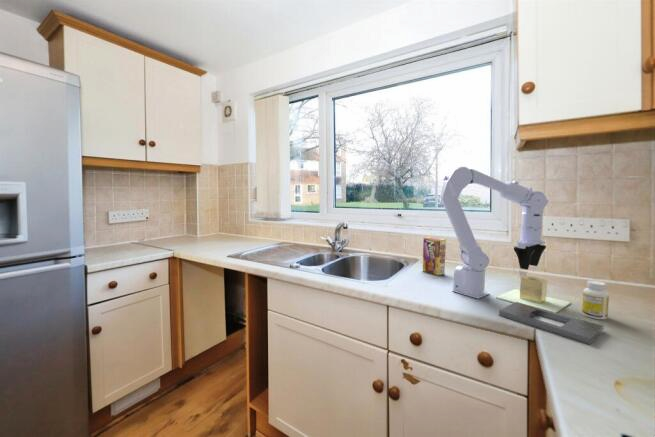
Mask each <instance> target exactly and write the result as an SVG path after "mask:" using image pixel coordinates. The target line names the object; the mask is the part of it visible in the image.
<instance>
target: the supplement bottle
mask: <svg viewBox="0 0 655 437" xmlns="http://www.w3.org/2000/svg"><path fill="white" fill-rule="evenodd" d="M606 289H607V283H606V282H602V281H598V280H587V282H586V287H585V288H584V289H583V290H582V292H583V293H582V304H581V306H582V308H581V313H582V315H583V316H585V317H587V318H590V319H595V320H607V318H608V313H609V301H610V300H609V299H610V293H609V292H608V291H607V290H606Z"/></svg>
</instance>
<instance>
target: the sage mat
mask: <svg viewBox="0 0 655 437" xmlns="http://www.w3.org/2000/svg"><path fill="white" fill-rule="evenodd" d="M496 299H498V300H502V301H505V302H509V303H511V304H513V303H515V302H519V303H522V304H526V305H530V306H533V307H537V308H541V309H544V310H548V311H551V312H555V313H559V312H560V311H561V310H563V309H564V308H567V307H568V306H570V305H571V304H572V303H571V302H570V301H567V300H561V299H558V298H554V297H551V296H546V301H545V302H544V303H542V304H539V303H536V302H532V301H528V300H524V299H521V298H520V289H518V288H517V289H516V288H514V289H512V290H511V289H510V291H509V290H508V291H507V292H504V293H502V294H501V295H498V296H496Z"/></svg>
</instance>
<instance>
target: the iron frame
mask: <svg viewBox="0 0 655 437" xmlns="http://www.w3.org/2000/svg"><path fill="white" fill-rule="evenodd" d="M498 311H499V312H498V316H500V317H503V318H506V319H510V320H512V321H515V322H518V323H522V324H525V325H528V326H531V327H534V328H537V329H541V330H543V331H546V332H549V333H552V334H555V335H559V336H561V337H565V338H569V339H570V340H573V341H574V340H575V341H578V342H580V343H583V344H586V345H589V346H590V345H591V344H592V343H593V342H594V341H595V340H596V339H598V337H599V336H600V335H602V333H603V332H604V325H603V324H598V323H594V322H591V321H589V320H587V321H586V320H583V319H580V318H576V317H572V316H569V315H565V314H562V313H559V312H557V313H555V312H551V311H548V310H544V309H541V308H537V307H533V306H530V305H526V304H522V303H519V302H515V303H510V304H509V305H507V306H505V307H502V308H501V309H499V310H498ZM536 315H537V316H540V317H544V318H546V319H551V320H554V321H558V322H560V323H563V325H560V326H559V325H556V324H553V323H549V322H547V321H544V320H540V319H536V318H533V317H535V316H536Z"/></svg>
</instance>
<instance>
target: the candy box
mask: <svg viewBox="0 0 655 437" xmlns="http://www.w3.org/2000/svg"><path fill="white" fill-rule="evenodd" d="M422 241H423V243H422V244H423V246H422V247H423V250H422V252H423V253H422V271H423V272H425V271H426V273H428V272H429V274H432V273H433V274H432V275H436V276H441V275H442V274H443V275H445V270H446V268H445V267H446V245H447V244H446V243H447V239H444V238H439V237H438V238H437V237H432V236H431V237H430V236H424V237H423V240H422Z"/></svg>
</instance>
